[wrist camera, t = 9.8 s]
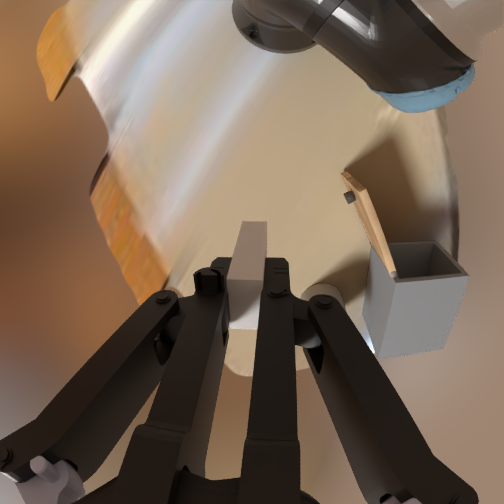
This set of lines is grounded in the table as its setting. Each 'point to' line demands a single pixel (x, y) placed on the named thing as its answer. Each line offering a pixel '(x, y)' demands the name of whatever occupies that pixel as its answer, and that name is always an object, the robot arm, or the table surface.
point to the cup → (322, 292)
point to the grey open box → (412, 299)
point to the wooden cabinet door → (369, 221)
